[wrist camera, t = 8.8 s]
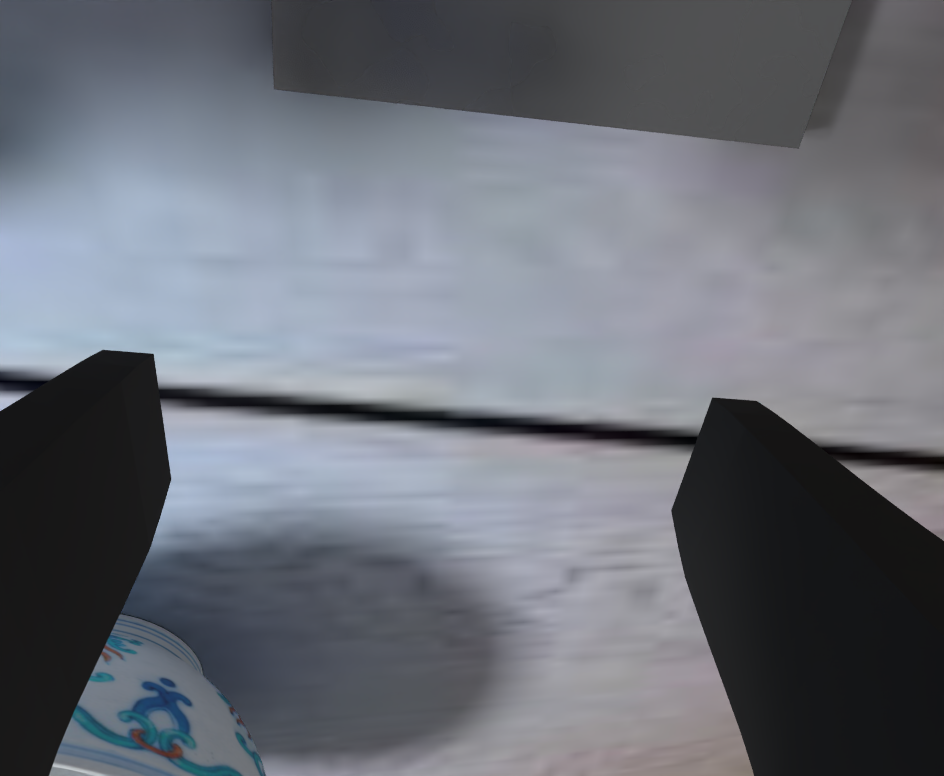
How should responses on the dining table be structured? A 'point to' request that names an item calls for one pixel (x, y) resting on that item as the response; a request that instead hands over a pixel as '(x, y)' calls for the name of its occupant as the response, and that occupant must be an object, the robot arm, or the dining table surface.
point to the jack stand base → (573, 59)
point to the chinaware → (153, 714)
